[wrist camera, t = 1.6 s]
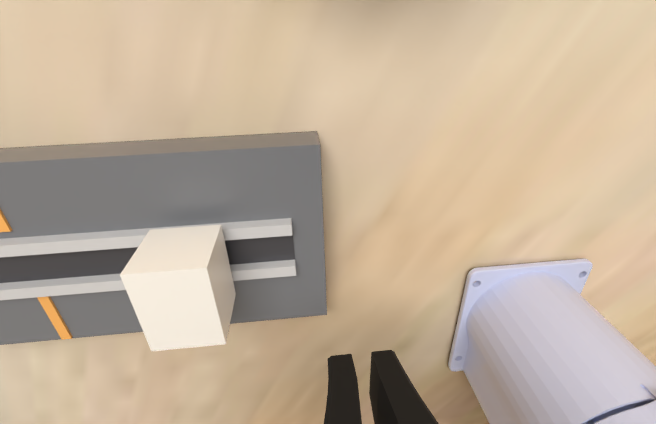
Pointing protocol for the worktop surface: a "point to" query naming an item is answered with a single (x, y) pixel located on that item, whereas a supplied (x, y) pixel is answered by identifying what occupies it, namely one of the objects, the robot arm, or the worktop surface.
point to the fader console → (155, 227)
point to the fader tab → (181, 287)
